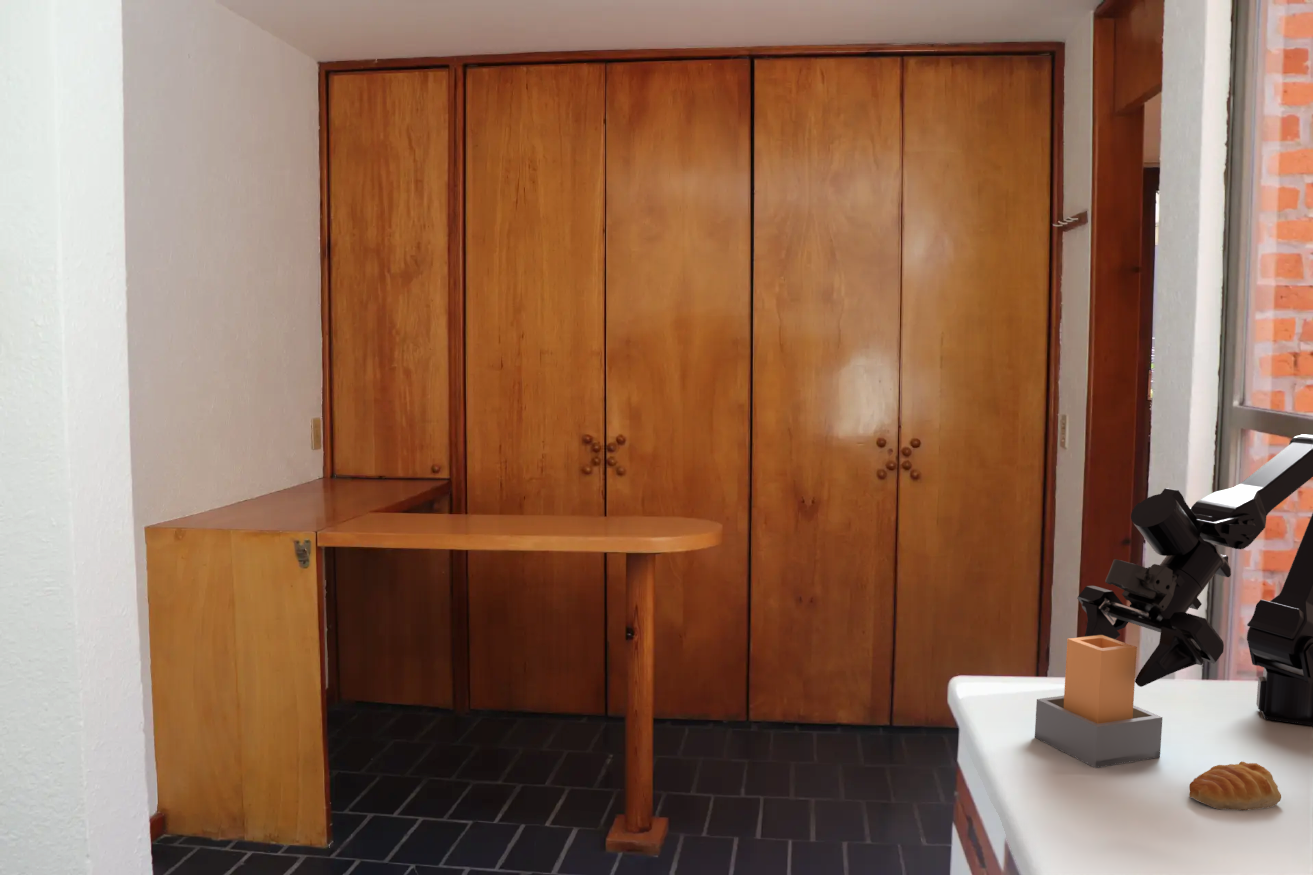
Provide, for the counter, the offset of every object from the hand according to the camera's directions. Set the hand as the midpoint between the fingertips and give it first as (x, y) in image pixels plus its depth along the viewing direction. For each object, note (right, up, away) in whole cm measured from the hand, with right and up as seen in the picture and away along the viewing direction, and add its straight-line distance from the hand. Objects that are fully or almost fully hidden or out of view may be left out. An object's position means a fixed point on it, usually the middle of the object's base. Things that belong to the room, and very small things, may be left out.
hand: (1108, 672), depth 130 cm
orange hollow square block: (-1, -9, 0) cm, 9 cm away
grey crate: (-1, -9, 0) cm, 9 cm away
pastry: (+8, -11, -14) cm, 20 cm away
